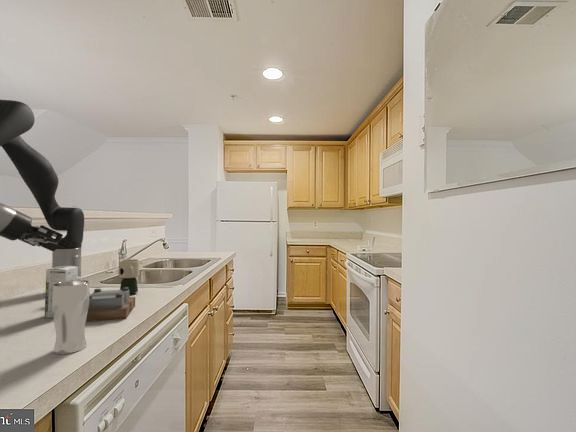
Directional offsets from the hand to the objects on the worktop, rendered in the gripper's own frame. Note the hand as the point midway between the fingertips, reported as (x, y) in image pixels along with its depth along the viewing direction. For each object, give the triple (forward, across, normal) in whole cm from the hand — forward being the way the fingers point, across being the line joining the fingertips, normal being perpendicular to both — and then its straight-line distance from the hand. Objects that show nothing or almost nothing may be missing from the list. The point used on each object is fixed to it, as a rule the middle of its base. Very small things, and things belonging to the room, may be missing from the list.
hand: (63, 247), depth 91 cm
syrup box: (+10, +2, +18) cm, 21 cm away
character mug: (+32, +6, +4) cm, 32 cm away
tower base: (+17, -9, +15) cm, 25 cm away
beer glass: (+2, -26, +27) cm, 37 cm away
